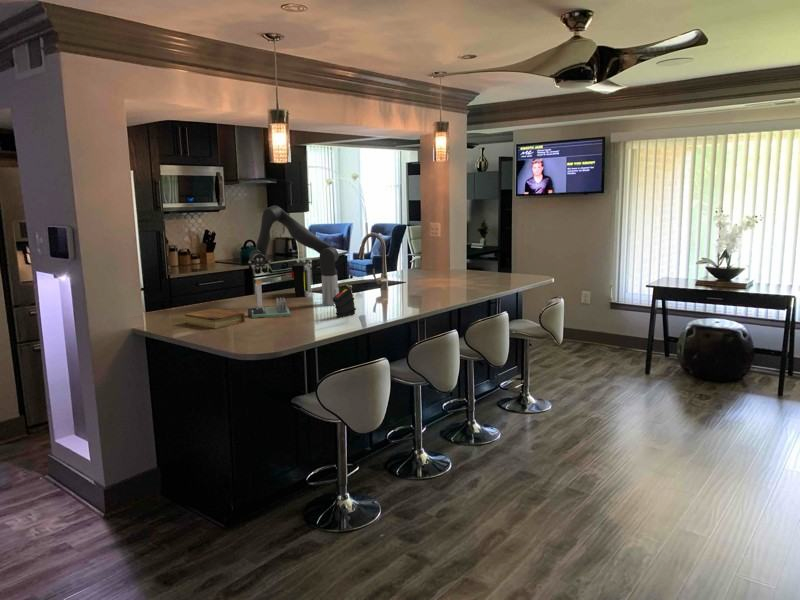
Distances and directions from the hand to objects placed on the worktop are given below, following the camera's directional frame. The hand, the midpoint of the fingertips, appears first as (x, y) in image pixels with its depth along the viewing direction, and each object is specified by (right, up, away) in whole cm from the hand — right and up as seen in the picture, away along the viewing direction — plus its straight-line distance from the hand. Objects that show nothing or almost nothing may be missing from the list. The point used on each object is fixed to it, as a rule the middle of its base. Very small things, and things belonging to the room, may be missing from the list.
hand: (260, 263), depth 340 cm
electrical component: (+16, -17, +50) cm, 56 cm away
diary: (-15, -33, -34) cm, 50 cm away
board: (+8, -28, -10) cm, 31 cm away
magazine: (+49, -29, -19) cm, 60 cm away
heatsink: (+6, -28, -10) cm, 30 cm away
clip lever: (+3, -27, -15) cm, 31 cm away
